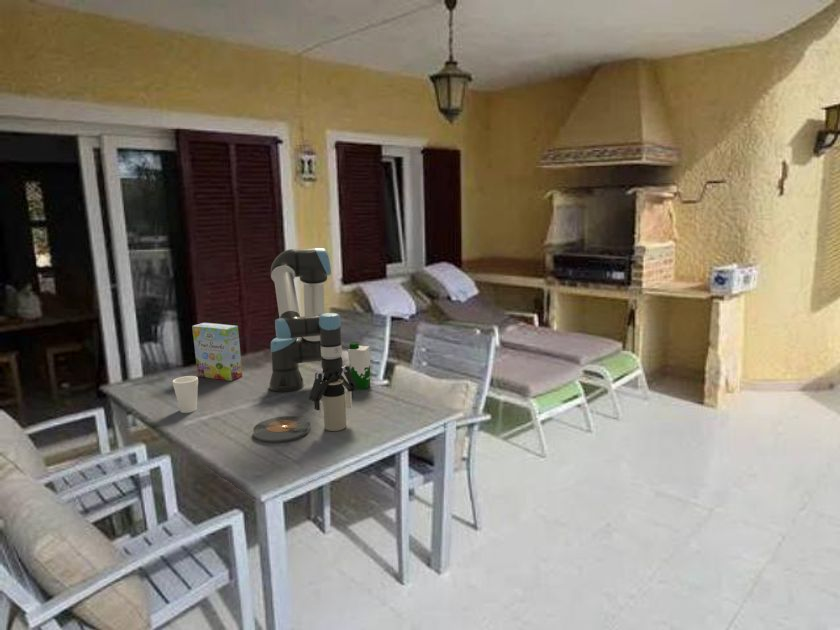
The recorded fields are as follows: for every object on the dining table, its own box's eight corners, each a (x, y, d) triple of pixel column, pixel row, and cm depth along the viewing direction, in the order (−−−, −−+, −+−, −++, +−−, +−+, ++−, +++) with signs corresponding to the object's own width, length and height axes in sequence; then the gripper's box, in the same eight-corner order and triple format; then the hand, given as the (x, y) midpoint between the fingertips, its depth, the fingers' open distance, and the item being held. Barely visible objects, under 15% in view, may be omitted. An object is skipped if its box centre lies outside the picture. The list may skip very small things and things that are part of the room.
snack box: (196, 377, 273) (190, 325, 268) (209, 372, 281) (204, 322, 276) (231, 381, 264) (226, 328, 260) (243, 376, 272) (239, 324, 267)
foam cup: (178, 416, 222) (175, 384, 219) (174, 409, 229) (170, 378, 227) (203, 410, 227) (200, 380, 224) (198, 404, 235) (195, 374, 232)
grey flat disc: (289, 417, 218) (289, 411, 217) (321, 430, 204) (320, 424, 204) (243, 432, 204) (242, 427, 203) (273, 448, 190) (273, 441, 190)
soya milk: (353, 383, 258) (351, 340, 254) (372, 383, 257) (371, 341, 253) (348, 389, 250) (345, 345, 246) (367, 389, 248) (365, 346, 244)
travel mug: (323, 432, 203) (320, 384, 199) (326, 423, 211) (323, 377, 207) (345, 431, 203) (342, 383, 199) (347, 422, 211) (345, 377, 207)
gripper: (309, 365, 190) (313, 425, 194) (364, 351, 208) (367, 405, 212) (296, 362, 195) (300, 419, 199) (351, 348, 213) (354, 401, 217)
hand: (334, 412), depth 205 cm, fingers open, 13 cm apart
